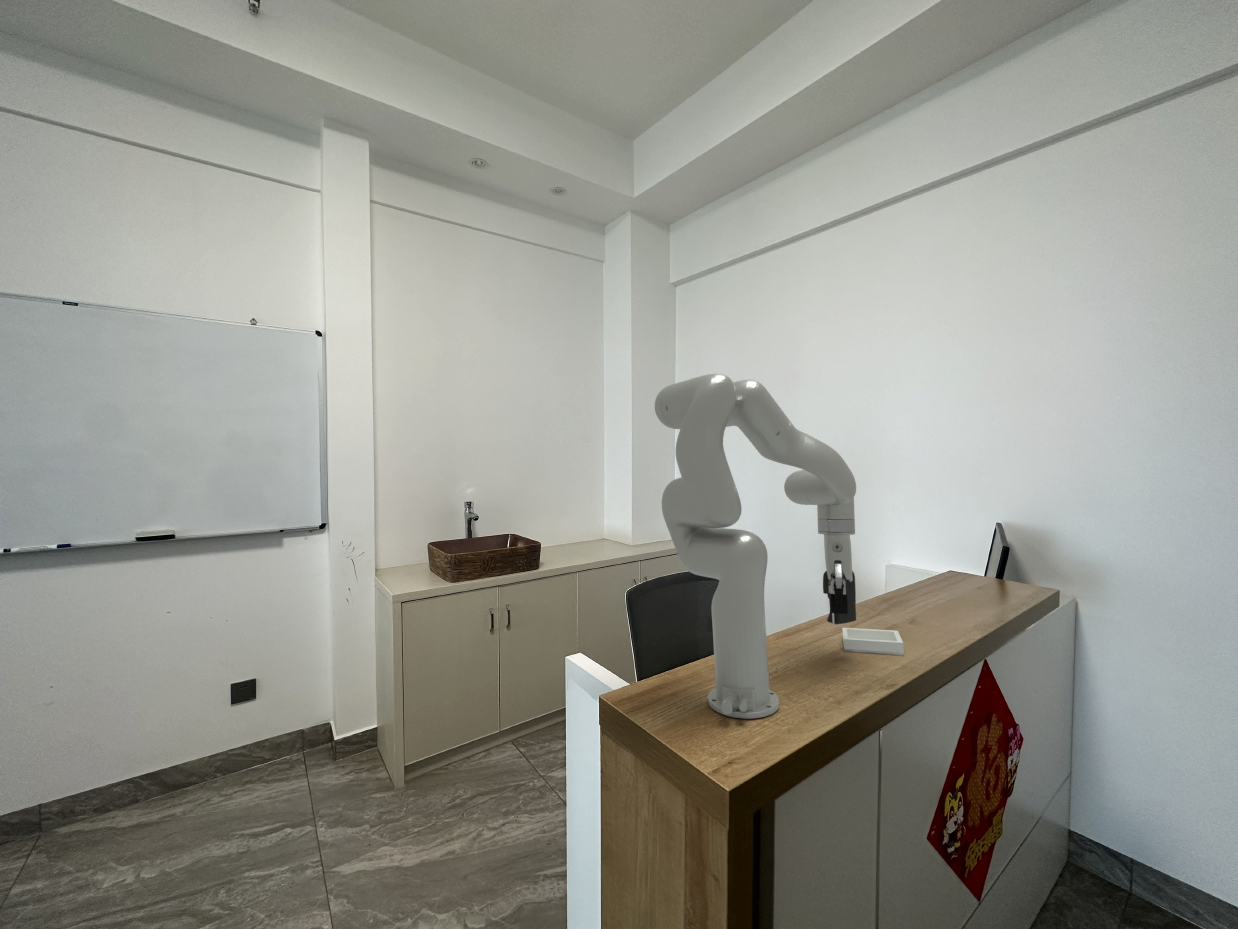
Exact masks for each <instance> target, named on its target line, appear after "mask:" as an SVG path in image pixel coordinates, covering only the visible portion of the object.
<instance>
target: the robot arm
mask: <svg viewBox="0 0 1238 929" xmlns="http://www.w3.org/2000/svg"><path fill="white" fill-rule="evenodd" d="M654 412H655V414H656V417H657V418H658V421H659V422H660V423H661V424H662V425H664V426H665V427H667V428H668V429H672V430H673V429H674V430H679V432H678V435H677V440H676V444H675V460H676V464H677V467H678V470H679V474H680V476H681V477H677V478H675V479H673V480H671V481H670V482H669V483H668V484H667V485H666V487H665V488H664V490H663V492H662V496H661V512H662V515H663V519H664V522H665V525H666V528H667V530H668V532H669V535H670V537H671V541H672V543H673V545H674V548H675V551H676V553H677V556H678V558H679V560H680V562H681V564H682V565H683V567H684V568H685V570H687V571H688V572H689V573H691V574H693V575H695V576H700V577H705V578H711V579H715V580H718V584H717V588H716V590H715V592H714V593H713V597H712V600H711V622H712V623H711V624H712V638H713V639H712V640H713V657H714V659H713V661H714V676H715V688H712V689H711V691H709V693H708V695H707V702H708V705H709V707H710V708H711V709H713V710H714V711H716V712H717V713H719V714H721V715H724V716H726V717H731V718H736V719H744V720H746V719H749V720H751V719H760V718H766V717H768V716H771V715H773V714H774V713H775V712H777V711H778V709H779V708H780V698H779V696H778V695H777V693H776V692H774V691H773V690H772V689H770V680H769V679H770V678H769V677H770V676H769V658H768V644H767V642H768V641H767V628H766V627H767V626H766V625H767V624H766V610H765V607H766V606H765V583H766V574H767V567H768V550H767V547H766V544H765V543H764V541H763V539H762V538H761V537H760V536H758V535H757V534H755V533H753V532H751V531H748V530H743V529H738V528H729V527H732V526H733V525H734V524H736V523H737V522H738V521H739V520H740V518H741V515H742V503H741V498H740V494H739V492H738V488H737V486H736V483H735V480H734V477H733V474H732V471H731V469H730V465H729V463H728V459H727V456H726V453H725V449H724V448H725V447H724V436H725V430H726V428H729V427H737V428H738V429H739V430H740V432H742V433H743V434H744V436H745V437H746V438H747V439H748V441H749V442H750V443H751V445H753V448H754V449H755V450H757V451H758V453H759V454H760V456H762V457H763V458H764V459H767V460H769V461H772V462H776V463H777V464H781V465H787V466H791V467H794V468H798V469H800V470H797V471H793V472H792V473H791V474H789V475H788V476H787V477H786V479H785V481H784V486H783V489H784V493H785V495H786V497H787V498H788V499H789V500H790V502H792V503H795V504H797V505H802V506H803V505H804V506H817V507H816V508H817V509H816V510H817V511H816V512H817V514H816V515H817V534H819V535H823V542H824V543H823V544H824V545H823V546H824V560H825V568H826V570H825V571H827V576H828V579H829V580H830V581H831V583H832V593H831V612H832V613H838V614H847V613H848V604H847V594H846V584H845V583H846V580H845V577H846V579H847V580H849V582H851V581H852V580H853V578H852V571H853V560H852V559H853V558H852V556H853V554H852V542H851V541H852V540H851V536H853V535H856V522H855V521H856V520H855V517H856V516H855V495H856V493H857V481H856V479H855V475H854V474H853V472H852V470H851V469H850V468H849V466H848V464H847V463H846V461H845V460H844V458H843V457H842V456H841V454H840V453H838V452H837V450H835V449H834V448H832V447H831V446H829V445H828V444H826V443H825V442H823V441H821V440H819V439H817V438H816V437H814V436H812V435H809V434H808V433H805V432H803V431H801V430H799V429H797V428H796V427H795V426H794V424H793V423H792V421H791V420H790V419H789V418H788V416H787V415H786V414H785V412H784V410H783V409H782V408H781V407H780V405H779V404H778V403H777V401H776V400H775V399H774V398H773V396H772V395H771V393H770V392H769V391H768V389H767V387H765V386H764V385H763V384H762V383H761V382H760V381H757V380H755V379H754V380H753V379H742V380H737V381H733V379H731V378H730V377H729V375H725V374H723V373H710V374H709V373H707V374H704V375H700V376H697V377H693V378H690V379H686V380H684V381H680V382H676V383H673V384H670V385H667V386H665V387H664V388H662V389H661V390H660V391H659V392H658V394H657V396H656V397H655V401H654ZM833 576H835V579H833ZM842 578H843V579H842ZM834 588H835V591H834ZM834 592H835V594H834Z"/></svg>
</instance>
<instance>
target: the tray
mask: <svg viewBox="0 0 1238 929" xmlns="http://www.w3.org/2000/svg"><path fill="white" fill-rule="evenodd" d="M841 629H842V642H843V651H844V653H845V652H848V653H861V654H862V653H863V654H873V655H875V654H876V655H889V656H890V655H891V656H902V657H904V656H905V650H904V647H905V646H904V641H903V639H902V637H901V635H900V632H899V630H894V629H893V630H890V629H889V630H888V629H877V628H876V629H875V628H874V629H873V628H872V629H871V628H854V627H842V628H841Z"/></svg>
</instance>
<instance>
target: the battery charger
mask: <svg viewBox="0 0 1238 929" xmlns="http://www.w3.org/2000/svg"><path fill="white" fill-rule="evenodd" d="M852 578H853V580H852V581H851V582H849V580H847V579H846V577H845V580H846V583H845V584H846V594H847V604H848V613H847V614H838V613H832V612H831V593H832V583H831V581H830V580H829V579H828V576H827V570H825V572H824V573H823V575H822V592H823V594H824V595H827V598H828V601H829V613H828V616H827V618H826V620H827V623H829V624H833V625H843V624H848V623H853V622H856V621H857V610H856V606H857V603H856V600H857V598H856V597H857V596H856V575H855V572H854V571H853V570H852ZM833 579H835V576H833ZM842 579H843V578H842ZM834 591H835V588H834ZM834 594H835V592H834Z"/></svg>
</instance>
